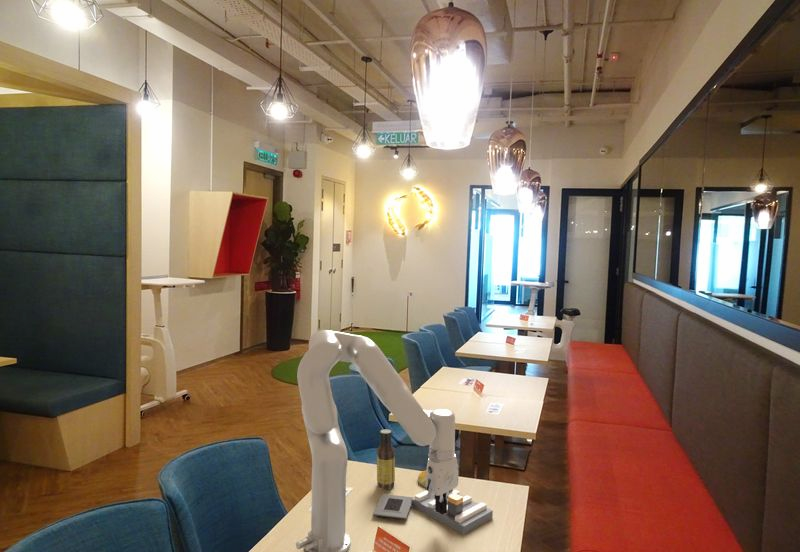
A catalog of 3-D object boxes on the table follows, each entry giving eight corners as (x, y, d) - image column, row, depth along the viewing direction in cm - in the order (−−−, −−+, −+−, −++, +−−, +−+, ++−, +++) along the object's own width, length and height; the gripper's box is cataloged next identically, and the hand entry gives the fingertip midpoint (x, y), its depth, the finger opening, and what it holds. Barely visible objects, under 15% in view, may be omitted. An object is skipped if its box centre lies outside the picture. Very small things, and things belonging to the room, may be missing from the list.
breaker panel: (463, 534, 155) (464, 522, 155) (411, 506, 171) (411, 494, 171) (492, 518, 165) (492, 506, 165) (440, 492, 181) (440, 481, 181)
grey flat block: (406, 524, 161) (406, 516, 161) (372, 520, 163) (372, 512, 163) (413, 503, 174) (413, 496, 174) (382, 499, 176) (382, 493, 176)
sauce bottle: (385, 480, 190) (386, 426, 188) (398, 485, 185) (399, 430, 184) (372, 486, 185) (373, 430, 183) (386, 492, 181) (387, 435, 179)
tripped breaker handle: (456, 518, 159) (456, 500, 159) (447, 513, 162) (447, 496, 161) (462, 514, 161) (463, 497, 161) (453, 510, 164) (454, 493, 164)
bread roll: (431, 475, 195) (431, 465, 194) (446, 485, 187) (446, 474, 187) (412, 480, 190) (412, 469, 190) (427, 490, 183) (427, 479, 182)
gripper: (433, 463, 148) (433, 526, 149) (467, 449, 158) (466, 508, 159) (414, 455, 153) (414, 516, 154) (449, 442, 163) (448, 499, 165)
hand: (440, 512), depth 157 cm, fingers closed
